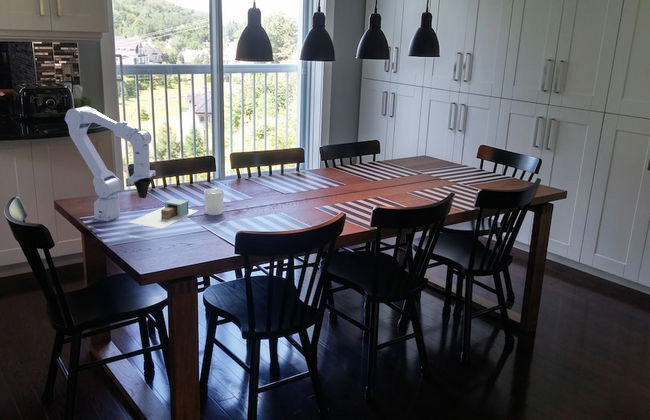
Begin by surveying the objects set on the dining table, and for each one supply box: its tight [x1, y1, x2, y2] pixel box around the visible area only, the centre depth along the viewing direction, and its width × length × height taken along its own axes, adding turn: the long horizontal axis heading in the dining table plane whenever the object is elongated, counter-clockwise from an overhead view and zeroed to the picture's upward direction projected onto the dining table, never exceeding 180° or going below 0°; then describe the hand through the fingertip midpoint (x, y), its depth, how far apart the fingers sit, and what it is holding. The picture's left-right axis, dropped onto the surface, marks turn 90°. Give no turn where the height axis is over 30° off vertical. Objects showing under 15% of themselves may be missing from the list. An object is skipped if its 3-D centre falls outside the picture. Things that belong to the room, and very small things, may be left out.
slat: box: [161, 205, 178, 220], centre depth 240 cm, size 10×3×4 cm, turn 160°
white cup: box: [203, 187, 225, 216], centre depth 246 cm, size 8×8×10 cm
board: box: [127, 206, 199, 230], centre depth 239 cm, size 26×15×1 cm, turn 160°
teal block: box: [164, 197, 189, 217], centre depth 242 cm, size 6×7×5 cm
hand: (142, 197), depth 230 cm, fingers closed
